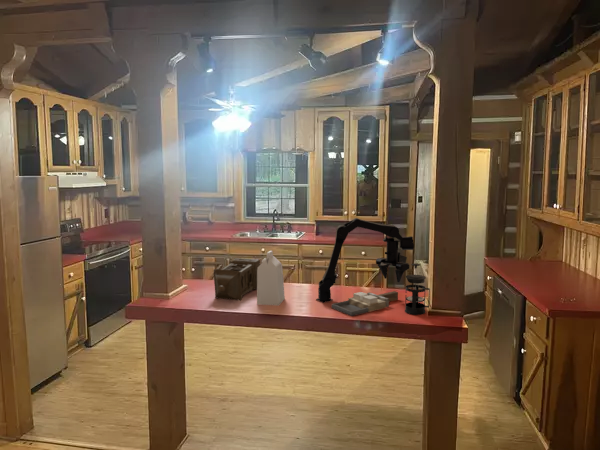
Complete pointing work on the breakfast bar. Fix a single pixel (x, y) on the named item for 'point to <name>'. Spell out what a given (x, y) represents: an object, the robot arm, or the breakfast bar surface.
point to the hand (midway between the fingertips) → (392, 280)
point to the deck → (371, 307)
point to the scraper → (386, 297)
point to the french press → (416, 294)
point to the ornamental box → (236, 278)
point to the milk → (270, 281)
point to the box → (348, 308)
